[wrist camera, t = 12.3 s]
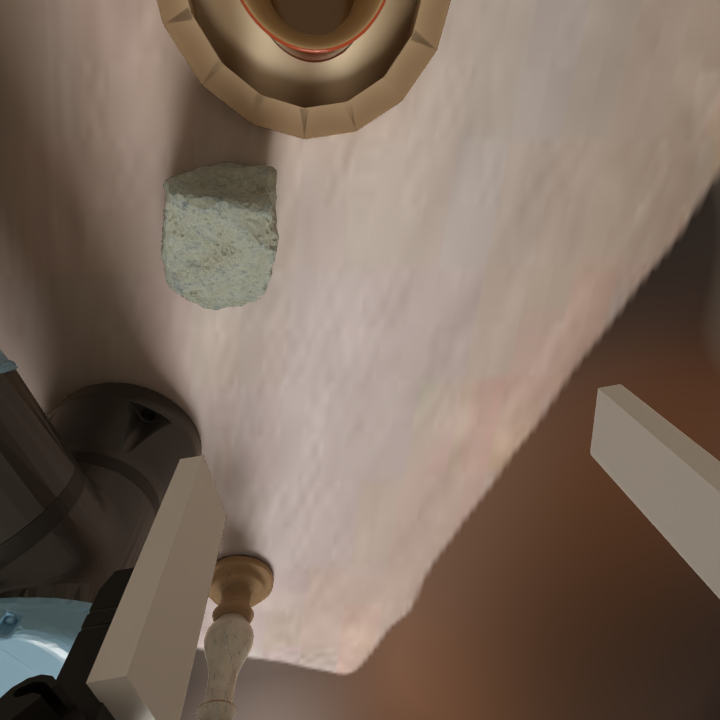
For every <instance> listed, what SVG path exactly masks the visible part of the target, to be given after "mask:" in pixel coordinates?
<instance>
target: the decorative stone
mask: <svg viewBox="0 0 720 720" xmlns="http://www.w3.org/2000/svg"><path fill="white" fill-rule="evenodd" d="M276 175H277V171H276V170H275V169H274V168H273V167H270V166H267V165H266V164H262V165H258V166H249V165H242V164H237V163H229V162H222V163H219V164H216V165H211V166H200V167H198V168H197V169H195V170H193V171H187V172H184V173H183V174H180V175H176V176H172V177H170V178H169V179H167V180H166V181H165V182H164V185H163V186H164V189H165V210H164V222H163V228H162V232H163V235H162V238H163V239H162V248H161V251H162V253H161V256H162V260H163V263H164V266H165V276H166V281H167V283H168V285H169V286H170V288H171V289H172V290H174V291H175V292H176V293H178V294H180V295H181V296H182V297H185V299H186V300H188V301H190V302H193V303H196V304H198V305H200V306H201V307H203V308H208V309H214V310H219V309H221V308H225V307H234V306H243V305H245V304H247V303H248V302H253V301H257V300H258V299H260V297H261V296H262V295H263V294H264V293H265V292H266V290H267V286H268V282H269V280H270V278H271V275H272V266H273V263H274V261H275V255H276V252H277V245H278V239H279V235H278V232H277V229H276V225H277V217H276V210H275V206H276V199H277V197H276Z"/></svg>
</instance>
